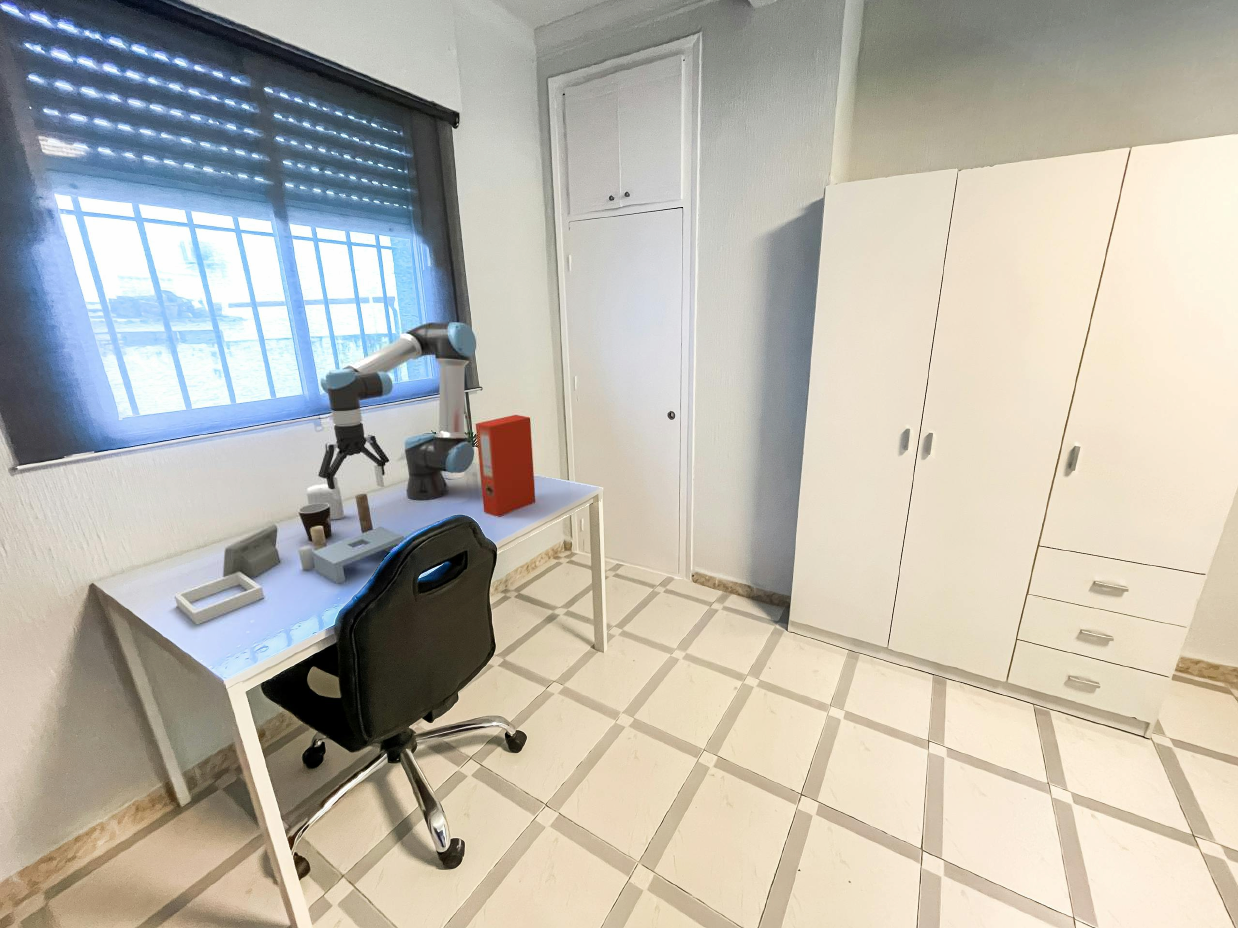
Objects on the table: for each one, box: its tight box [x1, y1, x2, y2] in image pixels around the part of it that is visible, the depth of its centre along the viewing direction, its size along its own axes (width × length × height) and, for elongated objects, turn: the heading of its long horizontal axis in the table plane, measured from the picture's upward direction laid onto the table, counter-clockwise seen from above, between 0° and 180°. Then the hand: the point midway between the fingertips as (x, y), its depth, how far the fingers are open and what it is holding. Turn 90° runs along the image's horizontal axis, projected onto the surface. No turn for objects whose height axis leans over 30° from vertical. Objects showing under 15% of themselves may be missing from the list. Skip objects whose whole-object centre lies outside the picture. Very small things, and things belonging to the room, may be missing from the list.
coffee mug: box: [297, 503, 332, 542], centre depth 164 cm, size 12×9×10 cm
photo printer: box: [306, 483, 345, 520], centre depth 177 cm, size 10×4×12 cm, turn 98°
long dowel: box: [354, 493, 374, 534], centre depth 159 cm, size 3×3×15 cm
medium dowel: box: [310, 526, 328, 551], centre depth 150 cm, size 3×3×9 cm
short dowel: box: [297, 545, 315, 571], centre depth 144 cm, size 3×3×6 cm
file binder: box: [475, 414, 536, 517], centre depth 181 cm, size 8×17×32 cm, turn 141°
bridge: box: [312, 526, 405, 585], centre depth 146 cm, size 20×12×6 cm, turn 144°
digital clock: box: [222, 523, 281, 579], centre depth 143 cm, size 16×9×11 cm, turn 158°
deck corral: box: [173, 572, 265, 625], centre depth 129 cm, size 14×14×3 cm
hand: (359, 492), depth 156 cm, fingers open, 13 cm apart
